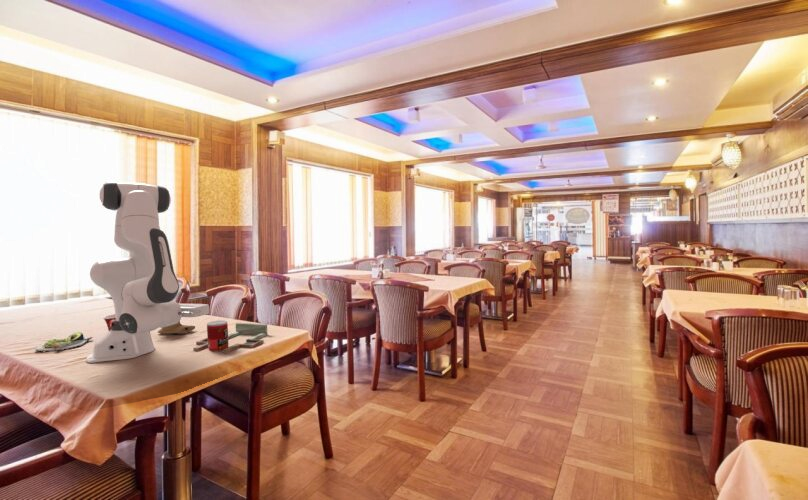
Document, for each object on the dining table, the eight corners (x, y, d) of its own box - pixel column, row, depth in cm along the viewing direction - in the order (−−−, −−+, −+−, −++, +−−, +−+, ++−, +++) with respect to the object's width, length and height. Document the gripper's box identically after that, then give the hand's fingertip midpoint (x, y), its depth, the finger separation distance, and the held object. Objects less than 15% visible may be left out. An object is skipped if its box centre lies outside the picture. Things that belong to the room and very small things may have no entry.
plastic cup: (114, 337, 188) (112, 312, 187) (138, 336, 189) (136, 311, 188) (98, 343, 177) (96, 317, 177) (124, 342, 178) (122, 316, 177)
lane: (239, 354, 157) (238, 341, 157) (181, 350, 164) (180, 338, 164) (278, 335, 184) (278, 324, 183) (227, 332, 191) (227, 322, 191)
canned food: (221, 351, 161) (219, 324, 160) (203, 350, 162) (202, 324, 162) (232, 346, 168) (231, 320, 168) (216, 345, 170) (214, 320, 169)
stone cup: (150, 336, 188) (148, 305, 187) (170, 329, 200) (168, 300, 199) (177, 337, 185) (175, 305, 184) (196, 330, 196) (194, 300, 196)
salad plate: (80, 350, 169) (80, 339, 168) (26, 356, 162) (25, 345, 161) (95, 339, 186) (95, 329, 186) (47, 344, 179) (46, 334, 179)
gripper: (191, 305, 138) (219, 298, 152) (145, 303, 144) (176, 297, 157) (192, 323, 139) (220, 314, 152) (146, 320, 144) (177, 312, 157)
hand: (197, 305), depth 155 cm, fingers closed
